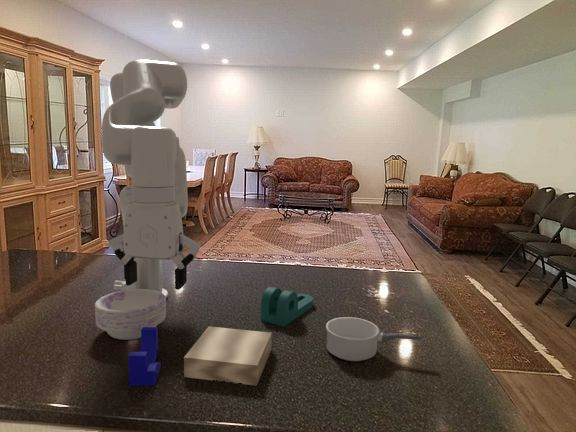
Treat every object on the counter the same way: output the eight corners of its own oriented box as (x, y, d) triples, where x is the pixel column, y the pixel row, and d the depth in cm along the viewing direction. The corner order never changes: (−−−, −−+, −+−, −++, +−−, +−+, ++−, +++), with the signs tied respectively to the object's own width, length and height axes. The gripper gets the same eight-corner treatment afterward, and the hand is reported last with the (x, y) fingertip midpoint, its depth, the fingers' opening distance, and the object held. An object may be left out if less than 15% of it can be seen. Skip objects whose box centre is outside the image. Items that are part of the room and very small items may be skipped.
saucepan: (421, 375, 86) (423, 348, 85) (320, 361, 91) (322, 335, 90) (417, 348, 98) (419, 325, 97) (328, 337, 102) (329, 314, 101)
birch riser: (184, 377, 83) (183, 357, 82) (208, 343, 96) (208, 326, 96) (256, 385, 81) (257, 365, 80) (271, 350, 94) (271, 332, 94)
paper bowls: (113, 316, 109) (112, 286, 107) (174, 319, 108) (174, 288, 107) (83, 345, 94) (81, 310, 92) (153, 348, 93) (153, 313, 92)
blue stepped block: (154, 386, 80) (154, 355, 79) (129, 386, 79) (128, 356, 78) (165, 353, 91) (165, 326, 90) (143, 354, 91) (142, 327, 90)
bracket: (283, 327, 106) (285, 296, 105) (260, 320, 110) (261, 290, 108) (317, 304, 122) (318, 277, 120) (295, 299, 125) (296, 272, 124)
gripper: (98, 195, 78) (102, 288, 80) (191, 200, 75) (192, 295, 78) (120, 191, 85) (123, 276, 88) (206, 195, 83) (206, 282, 85)
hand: (155, 285), depth 83 cm, fingers open, 9 cm apart
